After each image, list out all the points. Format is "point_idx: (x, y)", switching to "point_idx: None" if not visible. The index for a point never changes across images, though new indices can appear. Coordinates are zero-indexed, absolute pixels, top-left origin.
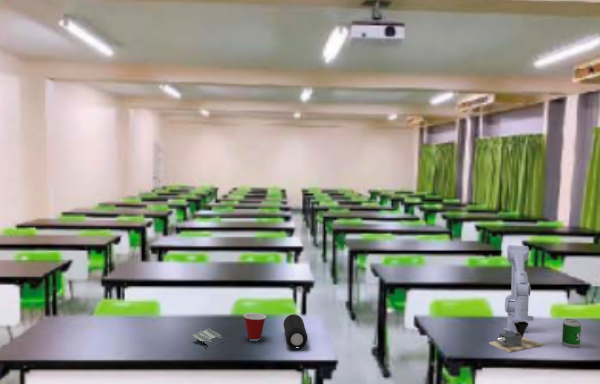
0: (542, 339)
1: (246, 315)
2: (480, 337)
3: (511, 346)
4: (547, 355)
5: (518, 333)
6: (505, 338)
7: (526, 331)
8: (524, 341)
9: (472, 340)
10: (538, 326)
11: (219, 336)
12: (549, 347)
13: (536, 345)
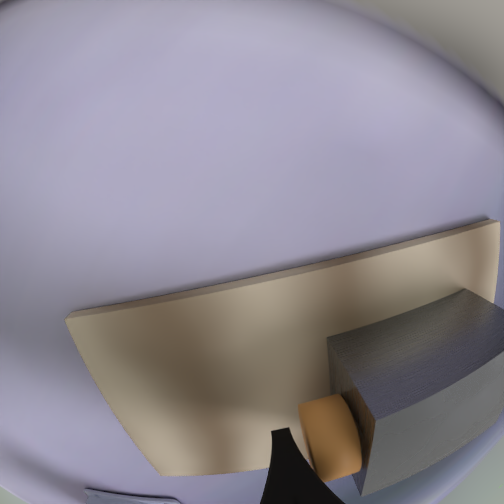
0: (35, 405)
1: None
2: None
3: (448, 298)
4: (208, 47)
5: (346, 463)
6: None
7: (94, 491)
8: (212, 412)
9: None
10: (30, 483)
11: None
12: (37, 258)
13: (148, 304)
